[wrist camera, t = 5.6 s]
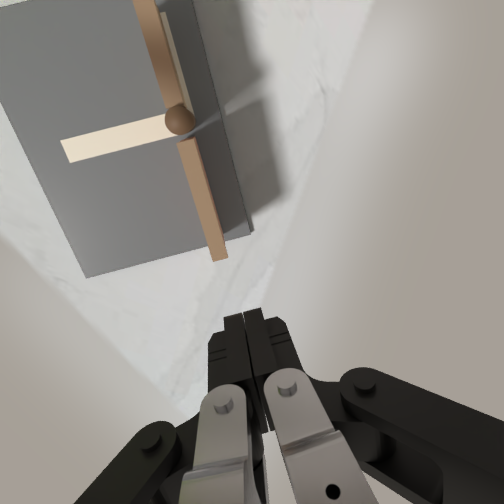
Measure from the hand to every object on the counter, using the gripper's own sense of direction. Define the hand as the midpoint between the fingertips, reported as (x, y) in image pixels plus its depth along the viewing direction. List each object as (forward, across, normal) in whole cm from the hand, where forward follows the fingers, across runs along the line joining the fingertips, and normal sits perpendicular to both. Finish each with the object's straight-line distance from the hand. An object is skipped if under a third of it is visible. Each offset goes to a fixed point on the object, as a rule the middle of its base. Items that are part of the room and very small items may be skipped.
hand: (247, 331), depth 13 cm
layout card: (+19, +6, -8) cm, 22 cm away
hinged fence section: (+18, +1, -2) cm, 19 cm away
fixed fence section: (+19, +1, -11) cm, 22 cm away
